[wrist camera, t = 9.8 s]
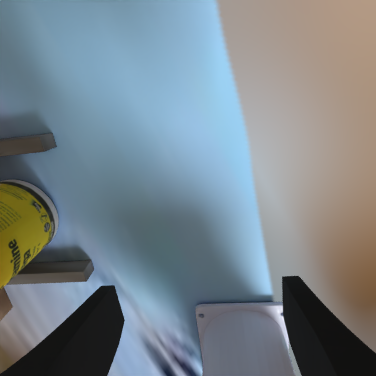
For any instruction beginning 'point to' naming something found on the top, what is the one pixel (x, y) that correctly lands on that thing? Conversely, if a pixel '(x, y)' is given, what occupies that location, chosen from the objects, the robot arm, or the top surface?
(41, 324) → the top surface
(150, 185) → the top surface
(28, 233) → the pill bottle
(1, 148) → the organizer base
